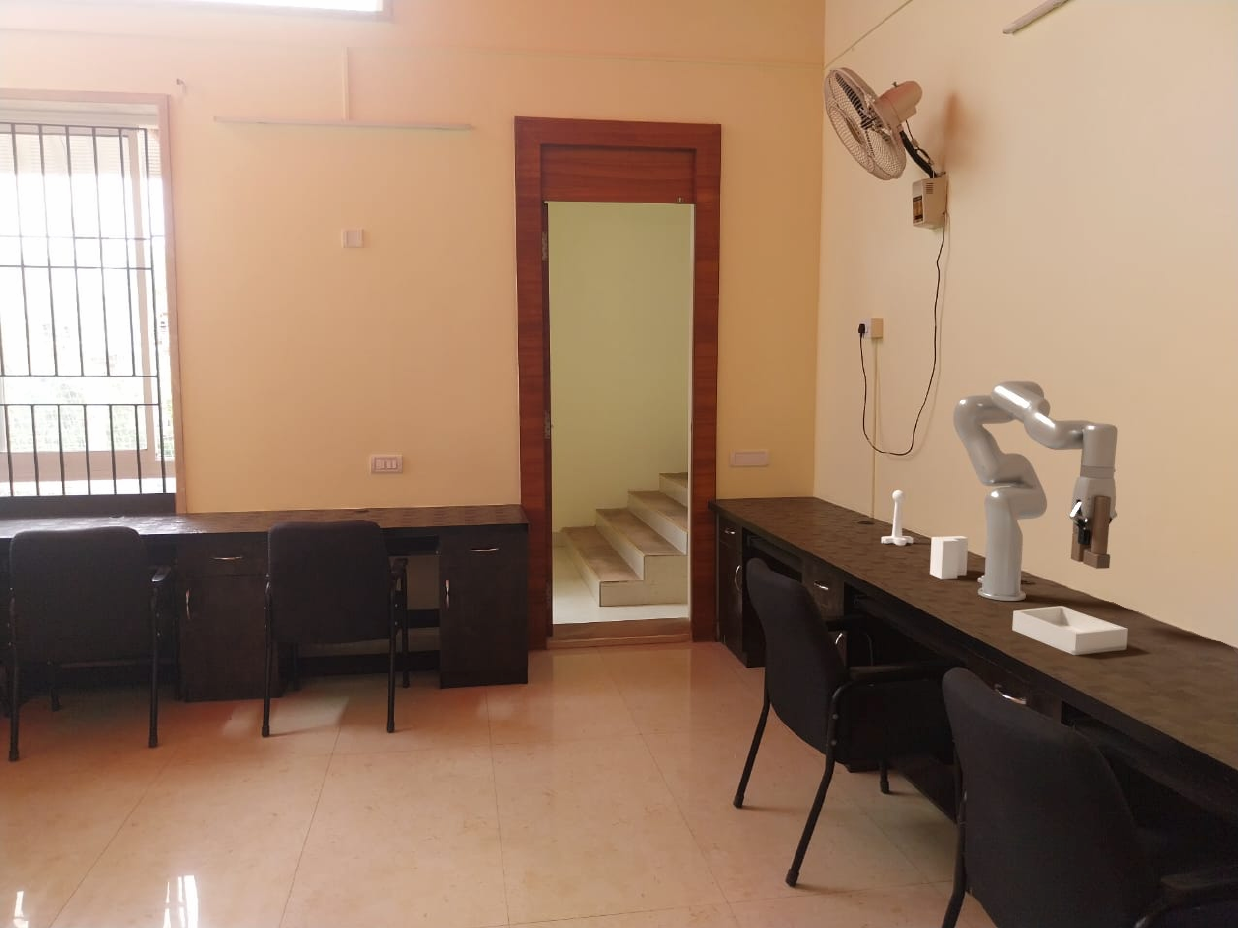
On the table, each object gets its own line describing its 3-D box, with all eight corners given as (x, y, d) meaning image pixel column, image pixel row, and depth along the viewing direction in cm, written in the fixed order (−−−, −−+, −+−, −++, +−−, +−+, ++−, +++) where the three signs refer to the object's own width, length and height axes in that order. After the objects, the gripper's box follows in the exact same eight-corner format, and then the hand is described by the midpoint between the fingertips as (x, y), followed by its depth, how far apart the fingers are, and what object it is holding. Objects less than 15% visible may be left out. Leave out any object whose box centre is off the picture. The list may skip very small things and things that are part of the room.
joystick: (908, 541, 330) (910, 489, 328) (917, 545, 323) (919, 492, 320) (880, 542, 329) (882, 489, 327) (887, 546, 322) (889, 492, 319)
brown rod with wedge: (1083, 558, 229) (1088, 490, 227) (1109, 568, 218) (1115, 497, 216) (1069, 558, 229) (1074, 490, 226) (1096, 569, 218) (1101, 498, 216)
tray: (1012, 630, 221) (1013, 610, 220) (1060, 625, 225) (1061, 606, 224) (1074, 655, 202) (1076, 634, 201) (1126, 649, 206) (1127, 628, 205)
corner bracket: (941, 579, 273) (943, 541, 271) (922, 570, 284) (923, 534, 283) (972, 577, 275) (974, 540, 274) (952, 569, 286) (953, 533, 285)
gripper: (1111, 469, 226) (1105, 539, 229) (1058, 471, 222) (1053, 542, 224) (1135, 473, 219) (1129, 545, 222) (1081, 476, 215) (1076, 549, 217)
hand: (1091, 543), depth 223 cm, fingers closed on brown rod with wedge, 4 cm apart
